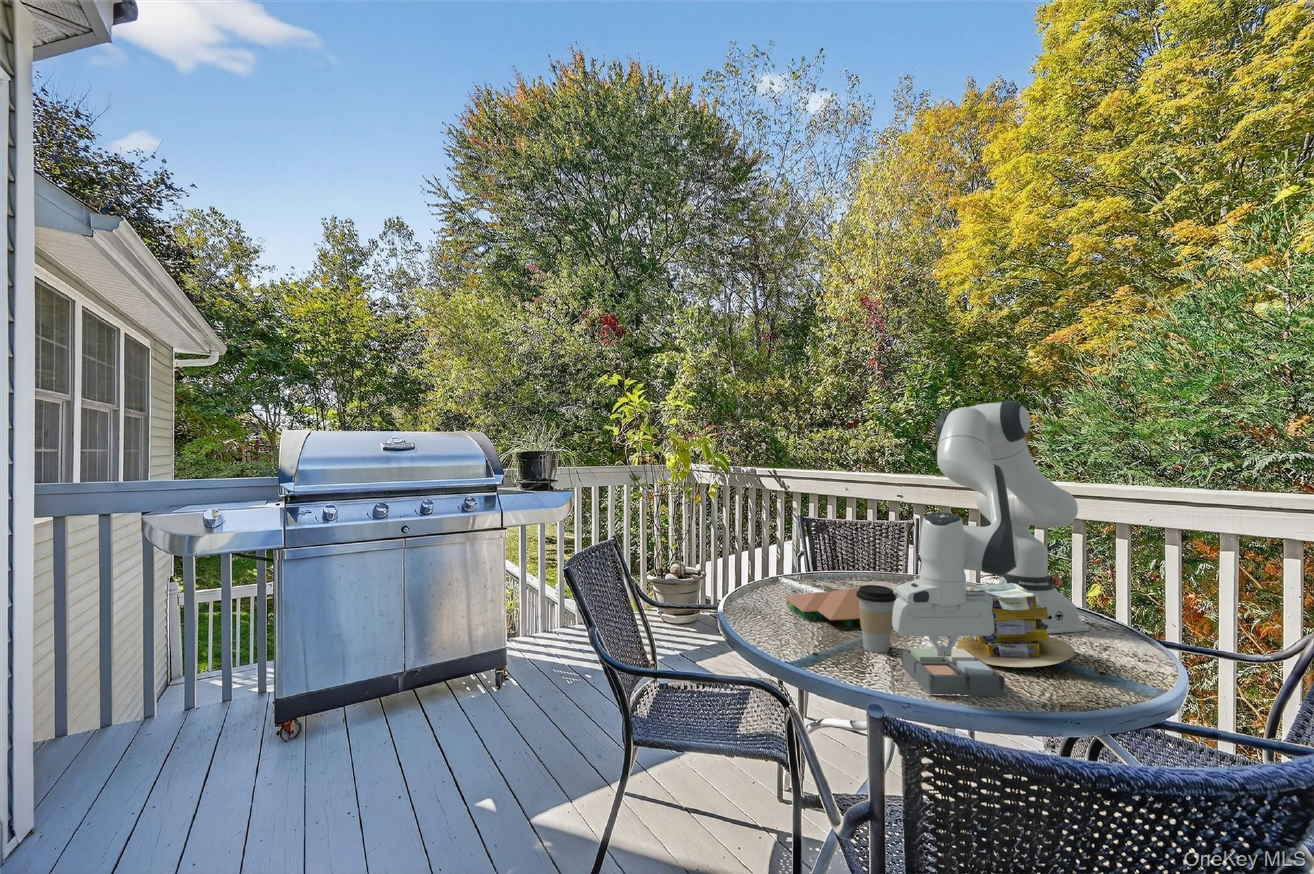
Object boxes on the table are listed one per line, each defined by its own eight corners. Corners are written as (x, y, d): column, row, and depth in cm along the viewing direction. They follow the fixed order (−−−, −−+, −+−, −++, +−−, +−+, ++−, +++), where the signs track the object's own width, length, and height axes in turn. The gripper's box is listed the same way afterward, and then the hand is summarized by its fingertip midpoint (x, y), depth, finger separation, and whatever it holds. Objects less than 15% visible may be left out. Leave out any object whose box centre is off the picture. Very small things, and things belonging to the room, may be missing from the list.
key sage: (932, 657, 133) (932, 648, 133) (942, 666, 128) (942, 657, 128) (910, 657, 133) (910, 648, 133) (919, 665, 128) (919, 656, 128)
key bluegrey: (980, 670, 126) (980, 660, 126) (992, 679, 121) (992, 670, 121) (956, 669, 126) (956, 660, 126) (968, 679, 121) (968, 670, 121)
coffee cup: (895, 644, 149) (895, 585, 149) (897, 658, 140) (897, 595, 140) (855, 640, 152) (856, 582, 152) (855, 653, 143) (856, 592, 143)
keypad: (967, 667, 134) (967, 649, 134) (1004, 696, 119) (1004, 677, 119) (901, 666, 135) (901, 649, 135) (930, 696, 120) (930, 676, 120)
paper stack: (951, 663, 137) (952, 592, 137) (957, 631, 159) (958, 570, 158) (1080, 686, 125) (1081, 608, 125) (1068, 648, 146) (1068, 582, 146)
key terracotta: (947, 674, 126) (947, 665, 126) (958, 684, 121) (958, 675, 121) (923, 674, 126) (923, 665, 126) (934, 684, 121) (934, 675, 121)
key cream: (963, 657, 133) (963, 648, 133) (975, 666, 128) (975, 657, 128) (941, 657, 133) (941, 648, 133) (952, 666, 128) (952, 657, 128)
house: (925, 626, 164) (925, 597, 164) (814, 632, 159) (815, 602, 159) (881, 602, 187) (881, 577, 187) (783, 607, 181) (783, 581, 181)
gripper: (984, 586, 126) (984, 649, 127) (889, 586, 127) (889, 649, 127) (1000, 594, 120) (1000, 661, 120) (900, 595, 121) (900, 661, 121)
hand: (942, 655), depth 124 cm, fingers closed
